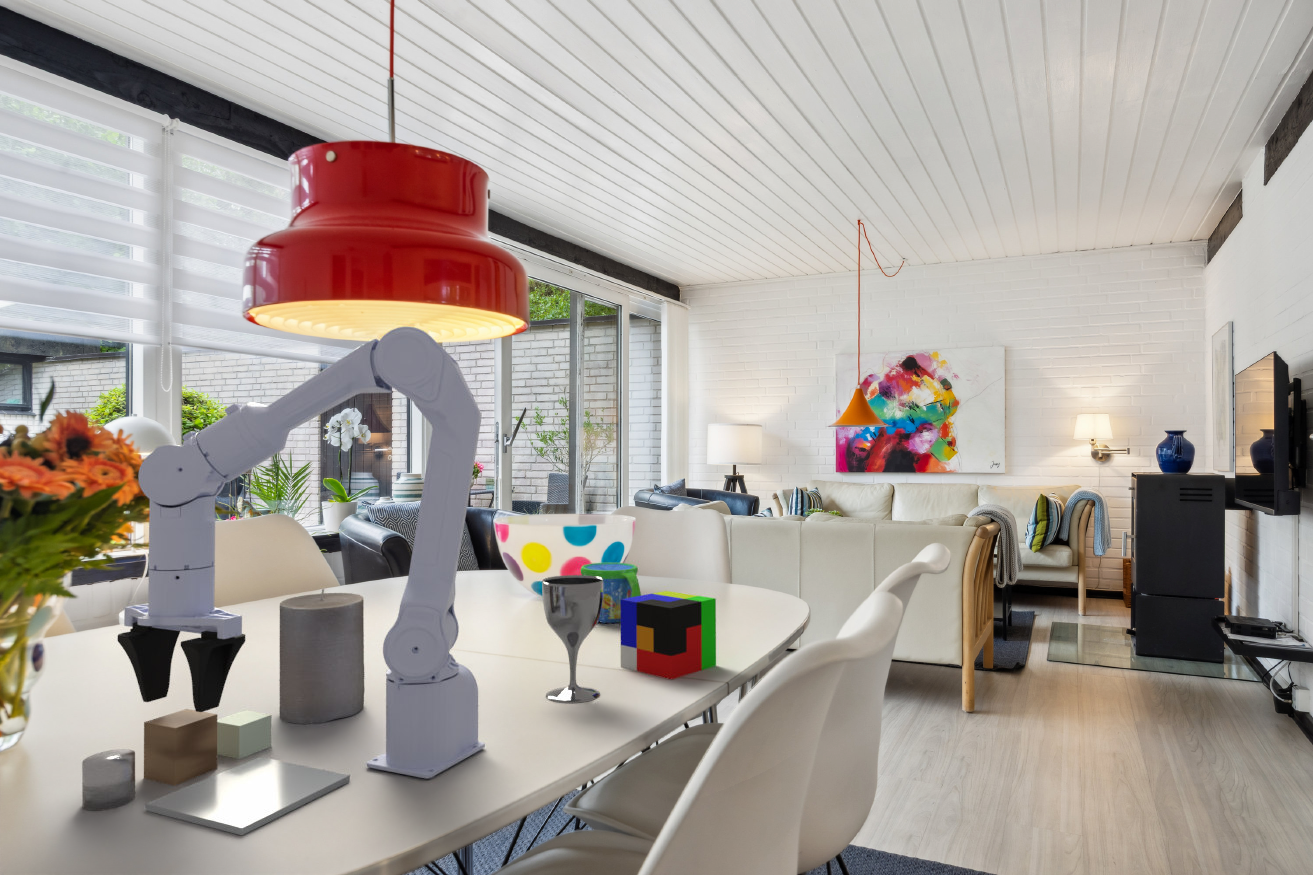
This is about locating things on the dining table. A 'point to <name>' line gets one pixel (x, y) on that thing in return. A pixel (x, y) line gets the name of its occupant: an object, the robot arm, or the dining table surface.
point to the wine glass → (572, 624)
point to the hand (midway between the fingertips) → (180, 703)
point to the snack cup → (614, 586)
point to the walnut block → (180, 746)
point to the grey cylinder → (108, 780)
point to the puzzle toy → (668, 633)
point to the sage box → (243, 733)
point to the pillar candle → (321, 657)
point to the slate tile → (248, 795)
